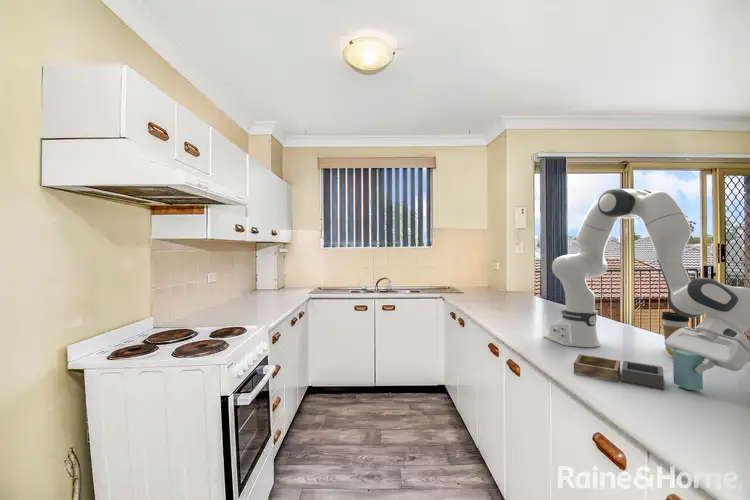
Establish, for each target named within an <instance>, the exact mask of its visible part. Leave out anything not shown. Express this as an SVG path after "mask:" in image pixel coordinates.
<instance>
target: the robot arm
mask: <svg viewBox="0 0 750 500" xmlns="http://www.w3.org/2000/svg"><path fill="white" fill-rule="evenodd" d="M583 218H584V219H583V221H582V223H581V224H580V228H579V230H578V232H577V233H576V234H577V235H576V239H575V240H576V243H578V245H579V251H578V253H576V254H572V253H571V254H564V255H560V256H558V257H556V258H554V259H553V261H552V264H551V270H552V273H553V275H554V276H555V277H556V278H557V279H558V280H559V281H560V282H561V285H562V288H563V290H564V298H565V301H564V302H565V309H564V310H560V311H559V312H560V314H562V316H561V318H559V319H558V320H556V321H555V322H552V323H551V324H550V327H549V331H548V333H545V334H543V338H545V339H547V340H549V341H553V342H555V343H557V344H560V345H563V346H567V347H580V348H598V347H600V346H601V343H600V340H599V336H598V333H597V332H598V331H597V326H596V324H597V311H596V297H595V295H596V294H595V293H594V292H593V291H592V290H591V289H590V288H589V286H588V283H587V280H590V279H596V278H600V277H601V276H604V275H605V274H606V272H607V271H608V262H607V260H606V259H605V251H606V246H607V244H608V240H609V239H610V236H611V234H612V232H613V230H614V227H615V225H616V224H617V221H618V220H619V219H640V220H641V222H642V224H643V227H644V228H645V230H646V232H647V235H648V237H649V239H650V242H651V245H652V247H653V250H654V253H655V257H656V259H657V262H658V265H659V268H660V270H661V271H660V272H661V273H662V276H663V280H664V282H665V284H666V287H667V303H668V306H669V307H670V310H672V312H673V313H677V314H678V315H680V316H683V317H687V318H689V319H695V318H699V317H701V316H703V315H706V316H705V317H704V318H703V320H701V322H700V323H699V324H698V325H697V326H696V328H692V327H690V326H688V327H686V328H680V329H679V330H677V331H675V332H674V333H673V334H671V335H670V336H669V337H668V338H667V339H666V340H665V339H664V345H665V347H666V346H667V347H668V348H669V349H670V350H671V351H676V350H686V351H690V352H693V353H696V354H699V355H700V356H701V357H702V358H703V363H701V364H699V365H696V364H695V365H694V367H692V370H693V371H694V372H696V373H698V374H701V373H702V372H703V373H704V371H707V370H711V369H713V368H714V367H715V366H717V367H720V368H722V369H726V370H728V371H732V372H738V371H740V370H743V368H744V367H745V366H746V365H747V364H748V363H749V361H750V340H749V339H748V338H747V337H746V336H745V335H744V334H745V331H747V329H750V288H748V287H745V286H732V285H728V284H724V283H721V282H719V281H717V280H715V279H714V278H709V277H697V278H694V279H692V280H691V279H690V277H689V274H688V271H687V269H686V267H685V264H684V261H683V256H684V252H685V249H686V246H687V244H688V243H689V241H690V239H691V237H692V229H691V225H690V222H689V220H688V219H687V216H686V214H685V213H684V212H683V210H682V208H681V207H680V205H679V204H678V202H677V201H676V200H675V199H674V198H673V197H672V196H671V195H670V194H669V193H668V192H665V191H661V190H659V191H653V192H652V191H649V190H644V189H643V190H641V189H637V188H611V189H607V190H606V191H604V192H602V194H601V195H599V198H598V199H597V200H595V201H594V202H593V203H592V204H591V206H590V208H589V209H588V211H587V213H586V214H585V216H584V217H583Z"/></svg>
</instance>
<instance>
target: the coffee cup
mask: <svg viewBox="0 0 750 500" xmlns="http://www.w3.org/2000/svg"><path fill="white" fill-rule="evenodd" d="M661 319H662V328H663V336H664V337H663V338H664V341H665V340H666V339H667V338H668V337H669V336H670V335H671V334H673V333H674V332H675V331H677V330H679V329H680V328H686V327H689V326H688V324H689V322H690V318H687V317H683V316H680V315H678V314H677V313H675V312H674V311H662V313H661Z"/></svg>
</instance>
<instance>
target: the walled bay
mask: <svg viewBox="0 0 750 500" xmlns="http://www.w3.org/2000/svg"><path fill="white" fill-rule="evenodd" d="M620 373H621V360H619V359H613V358H606V357H601V356H593V355H587V354H582V353H579V354H578V356H577V357H576V359H575V361H574V362H573V375H577V376H578V375H579V376H583V377H588V378H594V379H598V380H599V379H600V380H604V381H609V382H615V383H618V382H619V377H620Z"/></svg>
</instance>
